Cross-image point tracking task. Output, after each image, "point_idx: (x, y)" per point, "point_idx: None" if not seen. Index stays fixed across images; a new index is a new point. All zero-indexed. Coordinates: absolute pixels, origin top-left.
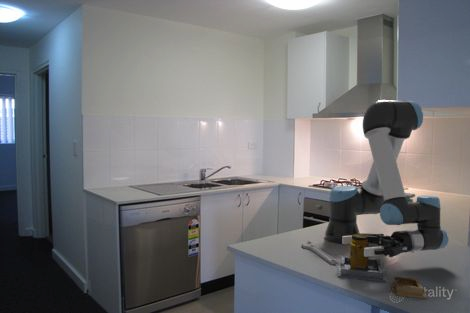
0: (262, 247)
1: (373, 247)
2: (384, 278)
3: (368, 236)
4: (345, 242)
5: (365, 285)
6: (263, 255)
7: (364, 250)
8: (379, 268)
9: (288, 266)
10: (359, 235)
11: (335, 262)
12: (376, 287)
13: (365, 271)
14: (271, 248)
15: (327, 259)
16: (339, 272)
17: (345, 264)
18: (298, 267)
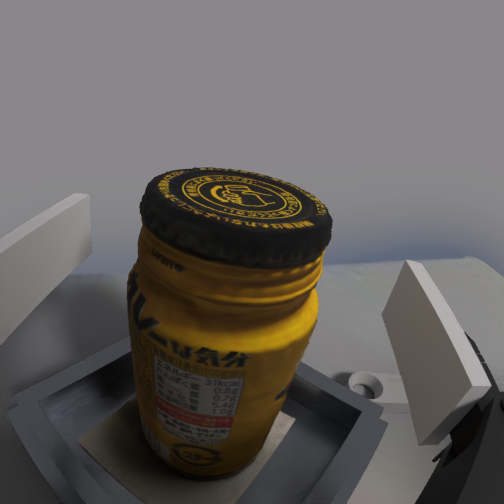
0: (490, 291)
1: (33, 222)
2: (22, 426)
3: (458, 501)
4: (391, 316)
5: (66, 328)
6: (433, 269)
7: (85, 211)
8: (62, 447)
9: (348, 268)
10: (270, 205)
11: (347, 384)
12: (24, 340)
13: (99, 352)
14: (490, 302)
15: (396, 377)
16: None
17: (315, 419)
18: (336, 280)
